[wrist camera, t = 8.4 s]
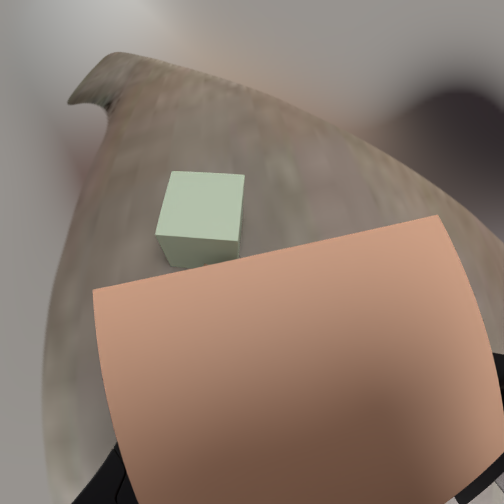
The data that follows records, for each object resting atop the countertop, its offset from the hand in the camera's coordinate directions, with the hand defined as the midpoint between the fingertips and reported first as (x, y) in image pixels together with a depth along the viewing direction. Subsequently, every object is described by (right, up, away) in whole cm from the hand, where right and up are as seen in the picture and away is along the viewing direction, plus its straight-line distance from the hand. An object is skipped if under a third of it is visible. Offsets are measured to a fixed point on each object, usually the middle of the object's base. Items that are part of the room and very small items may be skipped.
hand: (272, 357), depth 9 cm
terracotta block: (0, -4, +5) cm, 7 cm away
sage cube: (-4, +4, +14) cm, 15 cm away
